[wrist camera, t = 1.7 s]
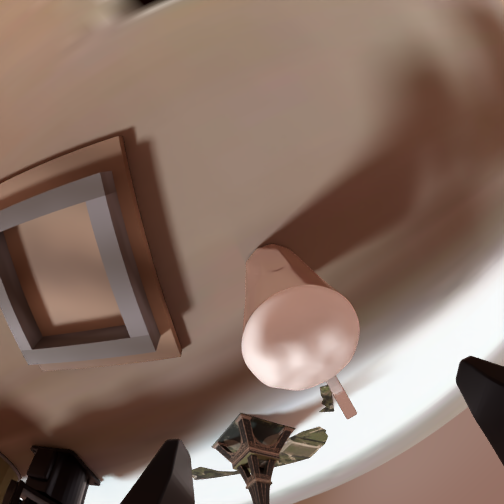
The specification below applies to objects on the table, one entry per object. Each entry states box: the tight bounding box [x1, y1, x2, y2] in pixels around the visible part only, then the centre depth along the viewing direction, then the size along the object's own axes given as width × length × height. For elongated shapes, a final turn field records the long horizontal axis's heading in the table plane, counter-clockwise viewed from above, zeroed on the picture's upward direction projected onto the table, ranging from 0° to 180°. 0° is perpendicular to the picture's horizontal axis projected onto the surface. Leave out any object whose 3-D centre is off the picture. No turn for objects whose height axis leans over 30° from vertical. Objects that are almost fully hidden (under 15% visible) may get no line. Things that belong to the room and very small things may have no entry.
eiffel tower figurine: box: [192, 386, 334, 504], centre depth 18 cm, size 15×10×13 cm
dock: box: [0, 136, 182, 371], centre depth 17 cm, size 14×12×3 cm
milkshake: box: [242, 244, 360, 419], centre depth 14 cm, size 4×5×10 cm
